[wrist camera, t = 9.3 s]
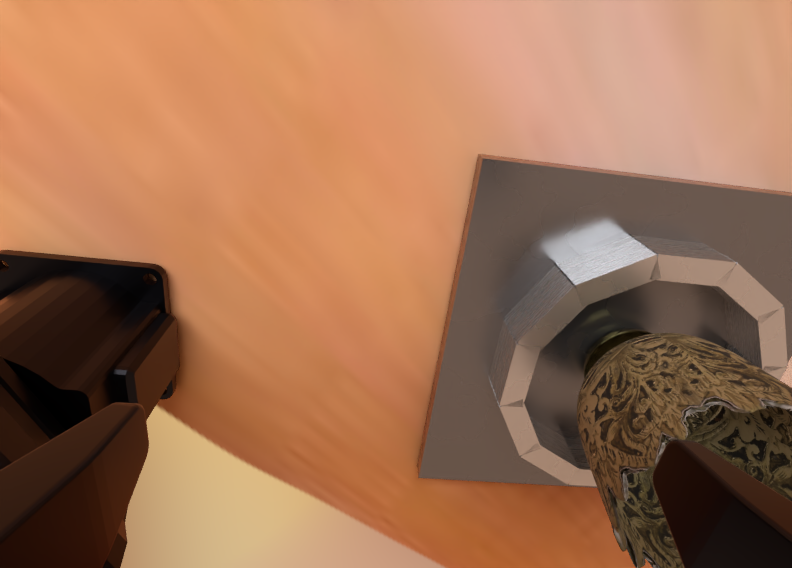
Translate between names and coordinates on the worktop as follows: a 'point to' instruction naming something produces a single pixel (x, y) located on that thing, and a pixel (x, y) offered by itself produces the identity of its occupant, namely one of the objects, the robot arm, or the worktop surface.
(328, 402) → the worktop surface
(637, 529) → the cup
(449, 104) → the worktop surface
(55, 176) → the worktop surface
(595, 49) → the worktop surface
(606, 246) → the cup bracket
